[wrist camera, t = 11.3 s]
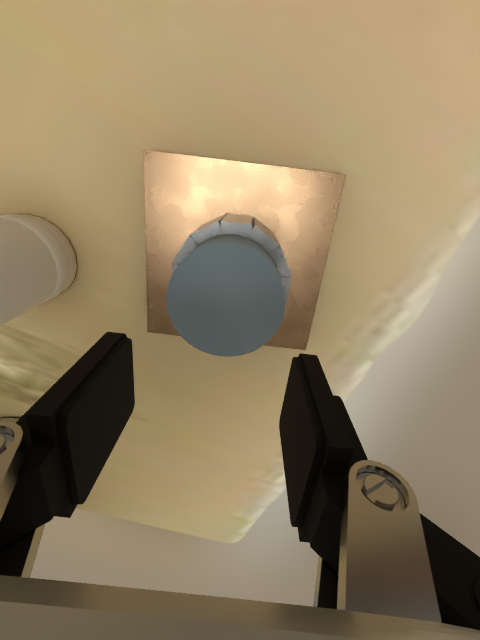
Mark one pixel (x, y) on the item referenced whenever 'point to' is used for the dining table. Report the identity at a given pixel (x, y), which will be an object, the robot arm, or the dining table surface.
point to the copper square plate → (240, 227)
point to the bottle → (32, 263)
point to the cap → (226, 296)
